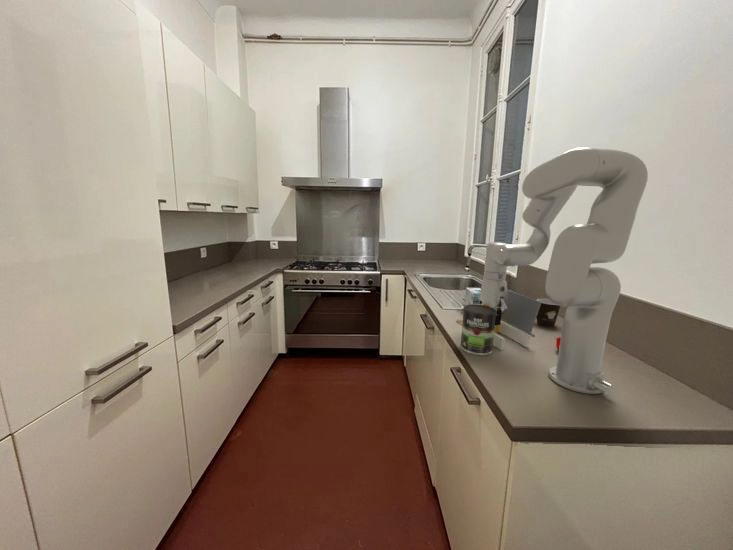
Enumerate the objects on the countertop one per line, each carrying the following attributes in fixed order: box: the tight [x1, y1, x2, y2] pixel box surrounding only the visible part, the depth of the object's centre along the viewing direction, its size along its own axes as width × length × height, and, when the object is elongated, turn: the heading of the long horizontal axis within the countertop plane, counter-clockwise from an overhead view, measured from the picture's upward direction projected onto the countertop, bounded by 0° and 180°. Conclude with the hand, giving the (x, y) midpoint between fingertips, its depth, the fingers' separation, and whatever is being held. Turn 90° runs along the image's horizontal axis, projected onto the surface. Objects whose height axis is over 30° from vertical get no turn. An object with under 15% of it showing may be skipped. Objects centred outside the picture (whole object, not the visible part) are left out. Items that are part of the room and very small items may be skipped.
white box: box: [493, 321, 536, 351], centre depth 109 cm, size 23×12×5 cm, turn 13°
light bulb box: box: [464, 287, 481, 306], centre depth 136 cm, size 11×7×11 cm, turn 179°
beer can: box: [483, 295, 499, 334], centre depth 112 cm, size 6×6×15 cm
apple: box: [555, 336, 561, 351], centre depth 97 cm, size 7×7×8 cm
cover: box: [501, 289, 542, 336], centre depth 109 cm, size 20×12×1 cm
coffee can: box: [459, 304, 497, 356], centre depth 98 cm, size 10×10×14 cm
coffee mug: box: [536, 298, 561, 328], centre depth 123 cm, size 12×9×10 cm
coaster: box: [456, 317, 463, 326], centre depth 124 cm, size 9×9×1 cm
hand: (490, 321), depth 112 cm, fingers open, 6 cm apart
